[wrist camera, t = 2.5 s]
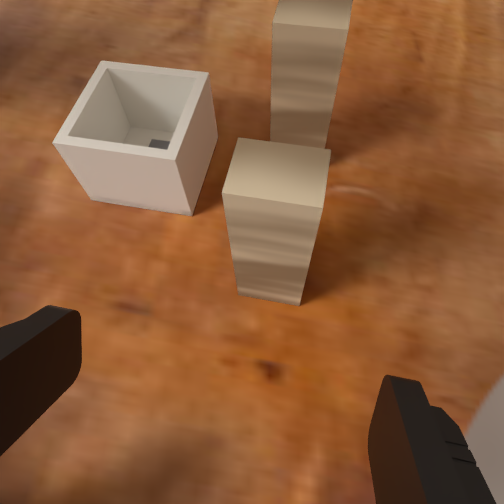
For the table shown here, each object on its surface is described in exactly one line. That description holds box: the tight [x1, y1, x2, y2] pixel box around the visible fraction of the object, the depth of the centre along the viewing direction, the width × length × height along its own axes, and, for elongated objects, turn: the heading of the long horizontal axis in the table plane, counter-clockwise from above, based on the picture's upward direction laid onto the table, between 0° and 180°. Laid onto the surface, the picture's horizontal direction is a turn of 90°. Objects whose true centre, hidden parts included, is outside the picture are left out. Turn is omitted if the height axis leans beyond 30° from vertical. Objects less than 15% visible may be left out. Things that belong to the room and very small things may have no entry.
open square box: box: [52, 60, 218, 216], centre depth 27 cm, size 8×8×6 cm
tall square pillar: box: [222, 137, 331, 306], centre depth 20 cm, size 3×4×11 cm
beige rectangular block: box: [270, 0, 353, 149], centre depth 25 cm, size 3×4×11 cm
